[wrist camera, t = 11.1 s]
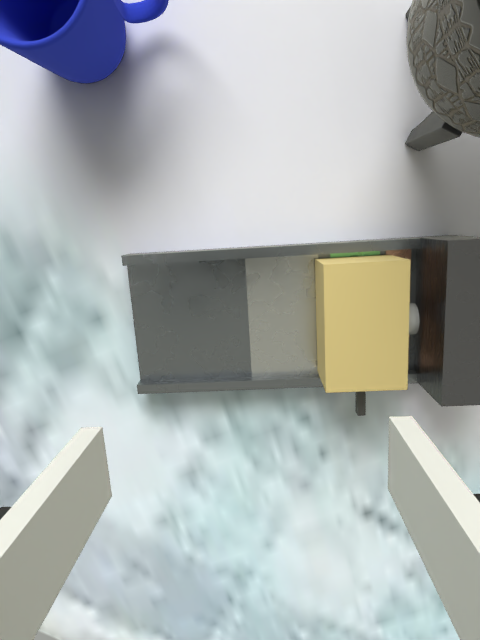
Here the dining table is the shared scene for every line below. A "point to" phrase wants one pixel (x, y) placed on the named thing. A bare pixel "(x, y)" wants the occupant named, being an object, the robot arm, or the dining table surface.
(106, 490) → the robot arm
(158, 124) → the dining table surface
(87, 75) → the mug
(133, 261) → the tray
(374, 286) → the block
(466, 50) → the planter
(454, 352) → the dark grey block
